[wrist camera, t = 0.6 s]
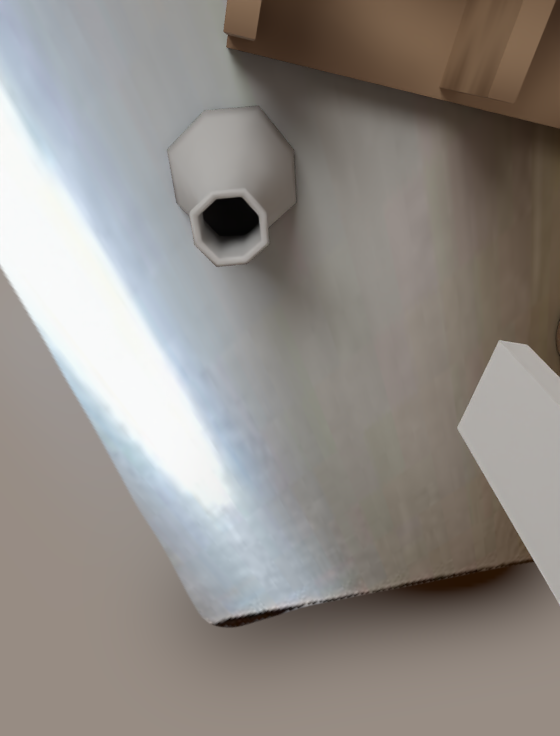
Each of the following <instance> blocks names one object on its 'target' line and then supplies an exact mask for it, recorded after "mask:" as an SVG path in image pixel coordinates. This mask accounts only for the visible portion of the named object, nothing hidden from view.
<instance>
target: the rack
mask: <svg viewBox="0 0 560 736" xmlns="http://www.w3.org/2000/svg"><path fill="white" fill-rule="evenodd" d="M223 32H225V33H226V34H227V35H228V38H227V46H226V47H227V48H231V49H235V50H239V51H244V52H248V53H252V54H256V55H260V56H264V57H268V58H272V59H276V60H280V61H285V62H289V63H293V64H297V65H301V66H305V67H309V68H313V69H317V70H321V71H325V72H330V73H334V74H338V75H342V76H346V77H350V78H354V79H358V80H362V81H366V82H371V83H375V84H379V85H383V86H387V87H391V88H395V89H399V90H403V91H407V92H412V93H416V94H420V95H424V96H428V97H432V98H436V99H440V100H444V101H448V102H453V103H457V104H461V105H465V106H469V107H473V108H477V109H481V110H485V111H489V112H494V113H498V114H502V115H506V116H510V117H514V118H518V119H522V120H526V121H530V122H534V123H539V124H543V125H547V126H551V127H555V128H559V129H560V0H227V7H226V15H225V23H224V31H223Z"/></svg>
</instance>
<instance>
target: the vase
mask: <svg viewBox="0 0 560 736" xmlns="http://www.w3.org/2000/svg"><path fill="white" fill-rule="evenodd" d="M556 342H557V349H558V352H559V355H560V321H559V324H558V328H557V335H556Z"/></svg>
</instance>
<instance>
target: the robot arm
mask: <svg viewBox="0 0 560 736" xmlns="http://www.w3.org/2000/svg"><path fill="white" fill-rule="evenodd" d="M457 429H458V430H459V432H460V434H461V436H462V437H463V439H464V441H465V443H466V444H467V446H468V448H469V449H470V451H471V453H472V455H473V456H474V458H475V460H476V462H477V463H478V465H479V467H480V468H481V470H482V472H483V474H484V475H485V477H486V479H487V481H488V482H489V484H490V486H491V487H492V489H493V491H494V493H495V494H496V496H497V498H498V500H499V501H500V503H501V505H502V506H503V508H504V510H505V512H506V513H507V515H508V517H509V519H510V520H511V522H512V524H513V525H514V527H515V529H516V531H517V532H518V534H519V536H520V538H521V539H522V541H523V543H524V544H525V546H526V548H527V550H528V551H529V553H530V555H531V556H532V558H533V560H534V562H535V563H536V565H537V567H538V569H539V570H540V572H541V574H542V575H543V577H544V579H545V581H546V582H547V584H548V586H549V587H550V589H551V591H552V593H553V594H554V596H555V598H556V600H557V601H558V603H559V605H560V377H559V376H558V375H557V374H556V373H555V372H554V371H553V370H552V369H551V368H550V367H549V366H548V365H547V364H546V363H545V362H544V361H543V360H542V359H541V358H540V357H539V356H538V355H537V354H536V353H535V352H534V351H533V350H532V349H531V348H530V347H529V346H528V345H526V344H519V343H513V342H507V341H501V340H499V342H498V344H497V346H496V348H495V350H494V352H493V354H492V356H491V358H490V360H489V363H488V365H487V367H486V369H485V371H484V373H483V375H482V377H481V379H480V381H479V383H478V385H477V388H476V390H475V392H474V394H473V396H472V398H471V400H470V402H469V404H468V406H467V408H466V410H465V413H464V415H463V417H462V419H461V421H460V423H459V425H458V427H457Z"/></svg>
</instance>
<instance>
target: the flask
mask: <svg viewBox="0 0 560 736" xmlns="http://www.w3.org/2000/svg"><path fill="white" fill-rule="evenodd" d="M167 153H168V158H169V164H170V169H171V175H172V180H173V186H174V192H175V197H176V203H177V204H178V205H179V206H180V207H181V208H182V209H183V210H184V211H185V212H186V213H187V214H188V215H189V216H190V221H191V227H192V233H193V239H194V245H195V246H196V247H197V248H198V249H199V250H200V251H201V252H202V253H203V254H204V255H205V256H206V257H207V258H208V259H209V260H210V261H211V262H212V263H213V264H214V265H215V266H216V267H220V266H231V265H241V264H247V263H249V262H250V261H251V260H252V259H253V258H254V257H255V256H257V255H258V254H259V253H260V252H261V251H262V250H263V249H264V248H266V247H267V246H268V245H269V243H270V242H269V231H268V227H270V226H271V225H272V224H273V223H274V222H275V221H276V220H277V219H279V218H280V217H281V216H282V215H283V214H284V213H285V212H286V211H288V210H289V209H290V208H291V207H292V206H293V205H294V204H295V203H296V202H297V200H296V182H295V164H294V149H293V148H292V147H291V145H290V144H289V143H288V142H287V140H286V139H285V138H284V137H283V135H282V134H281V133H280V132H279V130H278V129H277V128H276V127H275V126H274V124H273V123H272V122H271V121H270V119H269V118H268V117H267V116H266V114H265V113H264V112H263V111H262V109H261V108H260V107H259V106H249V107H238V108H226V109H215V110H204V111H203V112H202V113H201V114H200V115H199V116H198V117H197V119H196V120H195V121H194V122H193V123H192V124H191V125H190V126H189V127H188V128H187V129H186V130H185V131H184V132H183V133H182V134H181V135H180V136H179V137H178V138H177V139H176V141H175V142H174V143H173V144H172V145H171V146H170V147H169V148H168V149H167Z"/></svg>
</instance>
